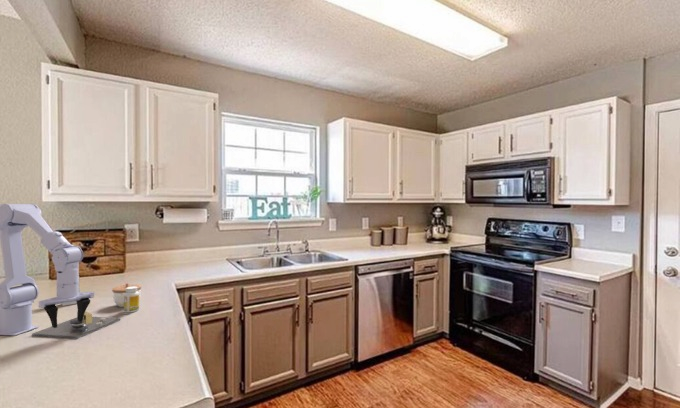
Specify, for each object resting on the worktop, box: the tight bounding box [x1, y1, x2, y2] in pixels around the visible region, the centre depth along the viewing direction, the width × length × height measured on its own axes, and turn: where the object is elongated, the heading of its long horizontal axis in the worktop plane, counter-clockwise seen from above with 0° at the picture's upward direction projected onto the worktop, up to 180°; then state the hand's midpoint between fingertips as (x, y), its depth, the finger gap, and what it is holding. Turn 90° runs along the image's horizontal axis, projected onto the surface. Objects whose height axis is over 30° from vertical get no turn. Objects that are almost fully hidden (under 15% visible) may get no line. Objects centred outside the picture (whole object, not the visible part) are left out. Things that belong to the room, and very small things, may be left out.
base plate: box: [31, 316, 121, 340], centre depth 120 cm, size 17×18×2 cm
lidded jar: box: [111, 283, 142, 308], centre depth 147 cm, size 11×11×9 cm
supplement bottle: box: [123, 286, 140, 314], centre depth 139 cm, size 5×5×10 cm
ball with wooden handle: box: [69, 311, 93, 324], centre depth 118 cm, size 11×5×4 cm, turn 57°
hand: (67, 324), depth 112 cm, fingers open, 6 cm apart
